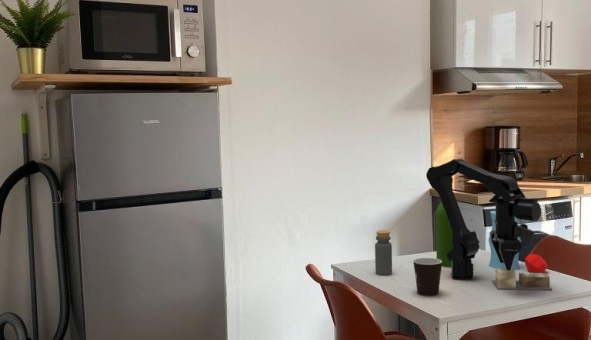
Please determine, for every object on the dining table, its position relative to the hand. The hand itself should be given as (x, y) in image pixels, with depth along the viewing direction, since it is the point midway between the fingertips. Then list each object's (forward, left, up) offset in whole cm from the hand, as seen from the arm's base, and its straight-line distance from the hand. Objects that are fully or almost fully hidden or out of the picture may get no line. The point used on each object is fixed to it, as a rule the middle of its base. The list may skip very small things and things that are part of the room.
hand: (505, 266), depth 174 cm
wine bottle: (-14, +29, -7) cm, 33 cm away
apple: (+14, +19, -7) cm, 25 cm away
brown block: (+9, +2, -6) cm, 11 cm away
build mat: (+5, +1, -7) cm, 8 cm away
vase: (+5, +25, -7) cm, 26 cm away
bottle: (-38, +15, -7) cm, 41 cm away
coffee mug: (-24, -6, -7) cm, 26 cm away
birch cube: (0, 0, -6) cm, 6 cm away
